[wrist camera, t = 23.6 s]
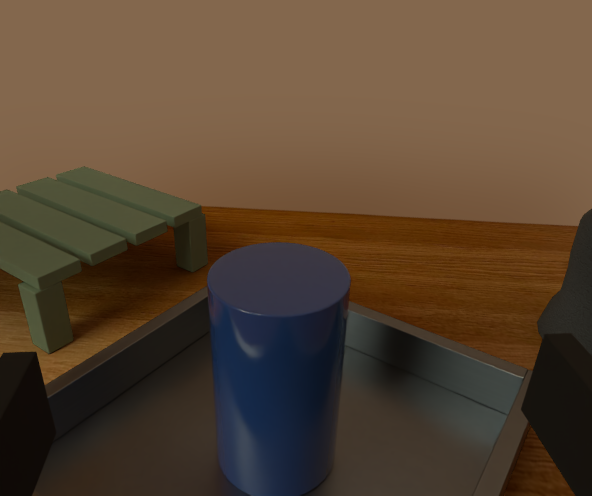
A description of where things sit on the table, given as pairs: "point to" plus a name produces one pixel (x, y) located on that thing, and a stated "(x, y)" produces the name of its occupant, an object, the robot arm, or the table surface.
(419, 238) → the table surface
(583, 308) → the mug
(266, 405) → the navy blue cylinder
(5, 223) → the rack
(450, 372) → the tray
